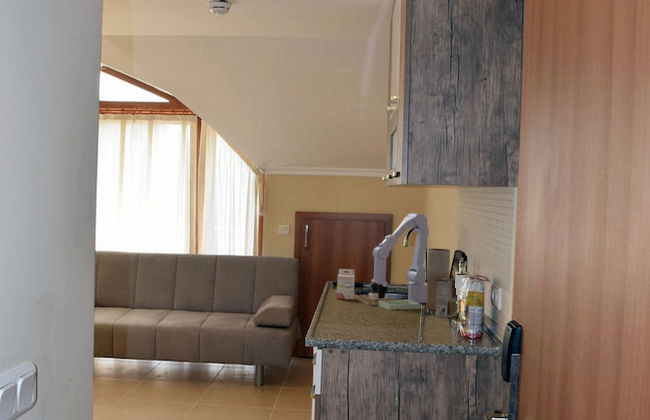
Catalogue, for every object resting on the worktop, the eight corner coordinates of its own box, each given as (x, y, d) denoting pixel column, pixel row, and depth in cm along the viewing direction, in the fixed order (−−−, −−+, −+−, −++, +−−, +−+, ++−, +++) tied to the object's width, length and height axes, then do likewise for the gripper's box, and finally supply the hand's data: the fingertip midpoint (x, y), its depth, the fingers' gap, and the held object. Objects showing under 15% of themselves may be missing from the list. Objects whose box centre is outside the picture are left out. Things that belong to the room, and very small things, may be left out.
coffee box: (446, 314, 279) (448, 277, 279) (459, 316, 275) (460, 279, 275) (434, 316, 273) (435, 278, 273) (447, 318, 268) (448, 280, 268)
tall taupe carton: (451, 310, 289) (453, 250, 289) (431, 311, 286) (433, 249, 286) (442, 307, 298) (444, 248, 298) (422, 307, 296) (424, 248, 296)
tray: (408, 305, 302) (409, 300, 302) (420, 309, 291) (420, 304, 291) (378, 305, 297) (378, 300, 297) (388, 309, 286) (388, 304, 286)
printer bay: (376, 300, 313) (376, 294, 313) (387, 304, 300) (387, 298, 300) (358, 301, 310) (359, 294, 310) (369, 305, 297) (369, 298, 297)
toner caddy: (383, 302, 309) (383, 291, 309) (387, 303, 305) (388, 293, 305) (368, 302, 307) (368, 291, 307) (372, 303, 302) (372, 293, 302)
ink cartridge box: (336, 299, 314) (337, 269, 314) (337, 297, 319) (338, 268, 319) (353, 299, 313) (354, 270, 313) (354, 298, 318) (355, 269, 318)
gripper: (366, 270, 311) (365, 297, 311) (378, 273, 298) (377, 301, 298) (379, 270, 314) (378, 297, 314) (391, 273, 300) (390, 301, 300)
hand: (378, 299), depth 306 cm, fingers closed on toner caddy, 5 cm apart
